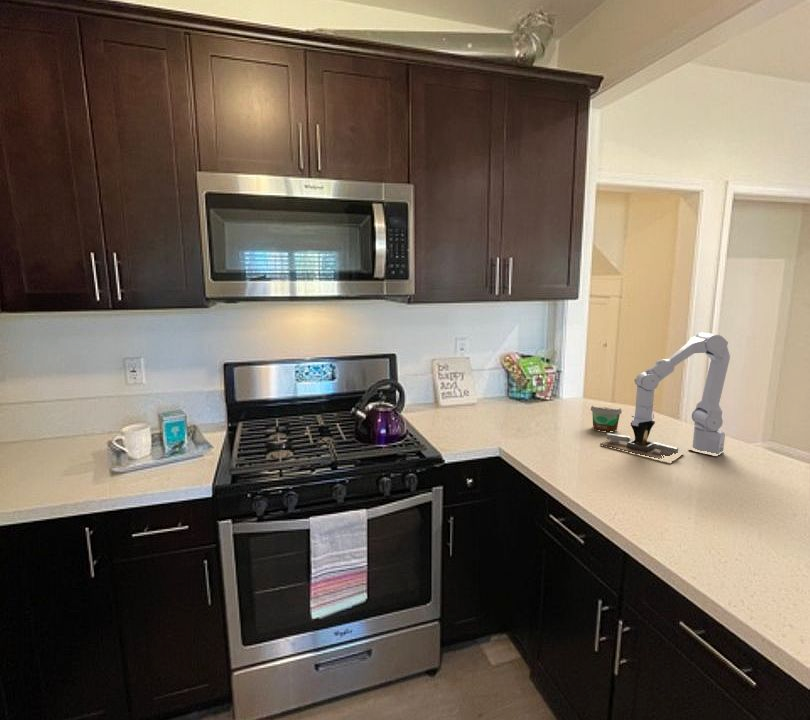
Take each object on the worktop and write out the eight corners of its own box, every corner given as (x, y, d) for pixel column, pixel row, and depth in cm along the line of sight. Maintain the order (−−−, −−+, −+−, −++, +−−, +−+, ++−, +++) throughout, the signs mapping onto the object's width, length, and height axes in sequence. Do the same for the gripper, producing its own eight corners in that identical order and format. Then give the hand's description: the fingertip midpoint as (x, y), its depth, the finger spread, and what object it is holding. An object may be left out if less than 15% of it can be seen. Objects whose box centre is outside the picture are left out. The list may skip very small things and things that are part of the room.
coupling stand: (683, 455, 171) (684, 444, 170) (669, 464, 163) (670, 453, 162) (615, 438, 190) (616, 428, 189) (600, 445, 181) (600, 435, 181)
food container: (587, 430, 199) (589, 408, 197) (589, 426, 204) (590, 404, 203) (619, 435, 193) (621, 411, 192) (620, 430, 199) (622, 408, 197)
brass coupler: (648, 445, 176) (649, 429, 175) (643, 447, 173) (644, 431, 172) (637, 442, 179) (638, 427, 178) (632, 444, 176) (633, 429, 175)
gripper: (641, 399, 181) (638, 433, 183) (624, 406, 172) (621, 442, 174) (660, 403, 176) (657, 438, 178) (644, 410, 166) (641, 447, 169)
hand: (641, 440), depth 176 cm, fingers closed on brass coupler, 4 cm apart
